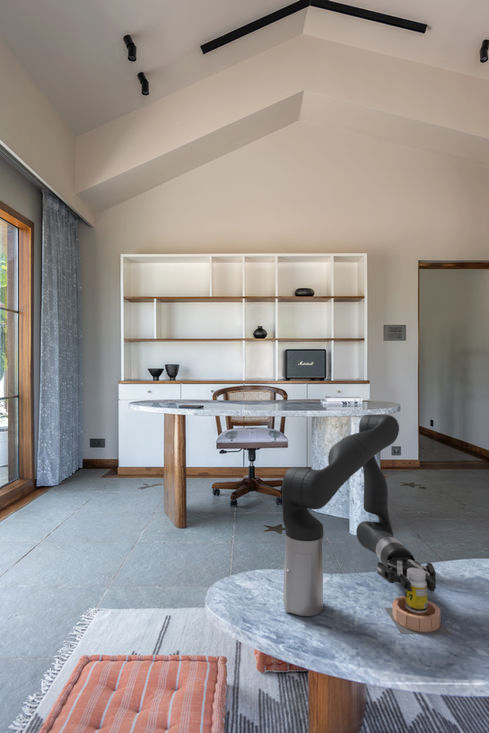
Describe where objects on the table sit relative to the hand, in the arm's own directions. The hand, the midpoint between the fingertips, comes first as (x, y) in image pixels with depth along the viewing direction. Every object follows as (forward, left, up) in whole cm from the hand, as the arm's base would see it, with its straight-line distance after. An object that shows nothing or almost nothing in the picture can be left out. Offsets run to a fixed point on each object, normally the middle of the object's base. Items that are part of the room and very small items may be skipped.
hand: (421, 587), depth 97 cm
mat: (0, +3, -9) cm, 9 cm away
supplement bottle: (0, +3, -6) cm, 7 cm away
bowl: (0, +3, -9) cm, 9 cm away
